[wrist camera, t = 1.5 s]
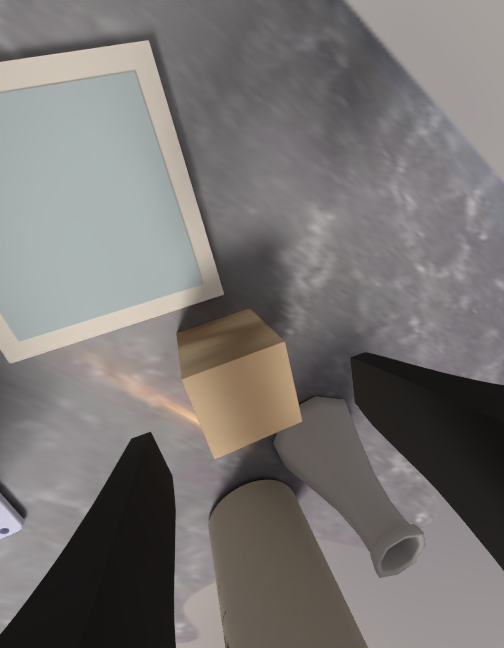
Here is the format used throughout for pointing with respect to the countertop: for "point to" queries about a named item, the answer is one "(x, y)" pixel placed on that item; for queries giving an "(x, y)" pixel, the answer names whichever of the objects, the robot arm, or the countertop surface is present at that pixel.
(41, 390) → the countertop surface
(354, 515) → the flask
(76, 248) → the picture frame
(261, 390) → the oak block
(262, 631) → the travel mug
